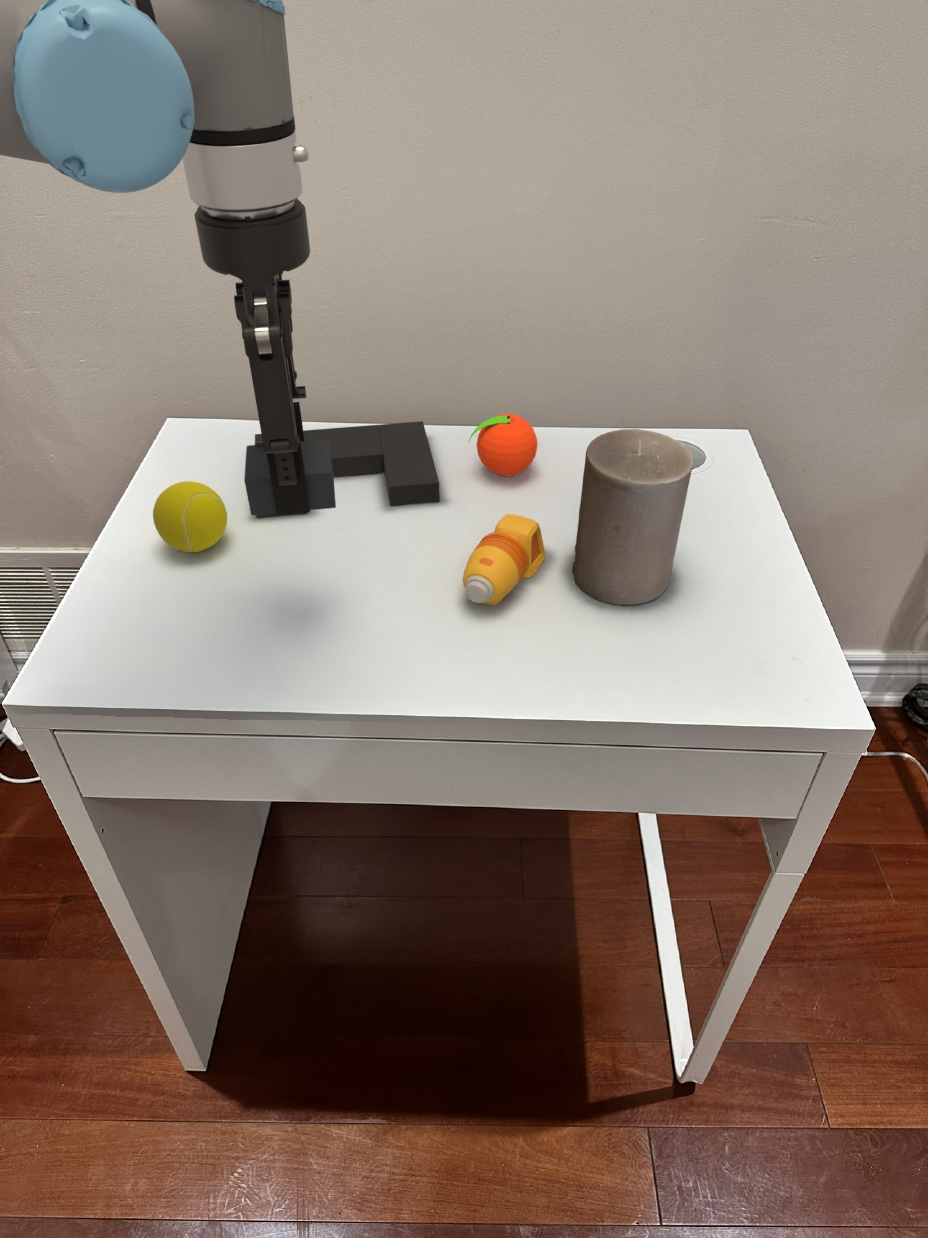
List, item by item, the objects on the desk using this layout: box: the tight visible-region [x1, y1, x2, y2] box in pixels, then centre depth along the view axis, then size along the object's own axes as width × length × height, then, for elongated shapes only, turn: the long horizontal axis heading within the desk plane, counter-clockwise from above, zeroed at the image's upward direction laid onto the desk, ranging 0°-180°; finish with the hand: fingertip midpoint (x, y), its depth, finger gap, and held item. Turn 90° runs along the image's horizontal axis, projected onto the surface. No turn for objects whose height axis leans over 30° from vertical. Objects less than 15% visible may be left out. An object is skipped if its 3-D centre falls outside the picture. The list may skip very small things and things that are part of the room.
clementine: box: [468, 413, 538, 477], centre depth 100 cm, size 8×7×7 cm
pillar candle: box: [571, 428, 695, 606], centre depth 83 cm, size 10×10×15 cm
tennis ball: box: [152, 480, 228, 553], centre depth 89 cm, size 7×7×7 cm
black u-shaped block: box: [254, 420, 440, 519], centre depth 101 cm, size 20×14×2 cm
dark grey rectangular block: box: [243, 439, 337, 516], centre depth 74 cm, size 7×6×4 cm
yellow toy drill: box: [462, 513, 546, 606], centre depth 85 cm, size 5×6×12 cm
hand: (293, 490), depth 75 cm, fingers closed on dark grey rectangular block, 5 cm apart
